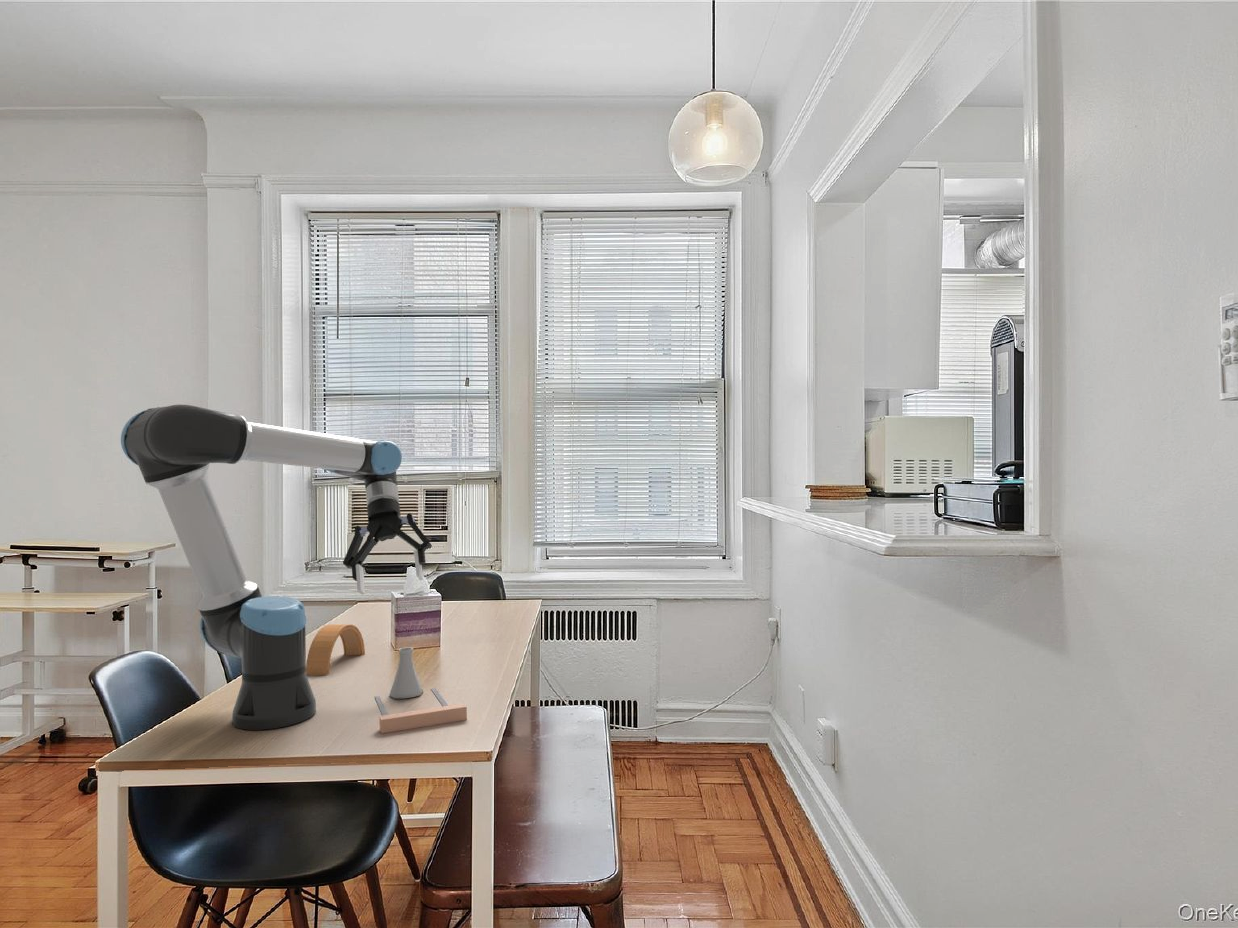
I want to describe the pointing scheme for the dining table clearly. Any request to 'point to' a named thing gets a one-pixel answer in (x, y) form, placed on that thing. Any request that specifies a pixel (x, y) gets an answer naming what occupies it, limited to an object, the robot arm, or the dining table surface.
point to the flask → (406, 677)
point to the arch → (325, 643)
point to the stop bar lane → (421, 716)
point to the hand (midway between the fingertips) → (390, 585)
